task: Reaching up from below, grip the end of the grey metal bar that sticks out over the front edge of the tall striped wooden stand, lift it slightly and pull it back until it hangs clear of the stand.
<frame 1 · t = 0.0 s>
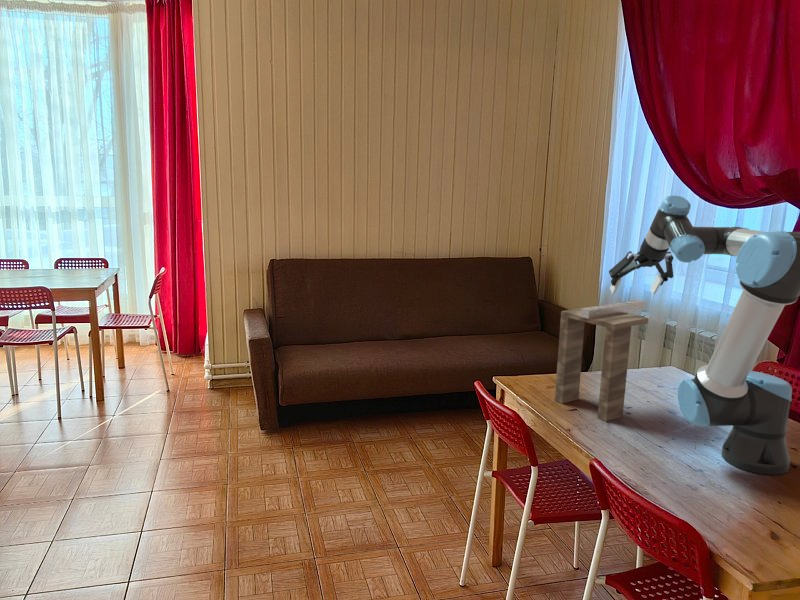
hand: (632, 291, 194), 36 cm above the table, tool tilted 35°, fingers open, 13 cm apart
striped wooden stand: (595, 406, 192), on the table
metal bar: (614, 312, 188), point 30 cm above the table, touching striped wooden stand
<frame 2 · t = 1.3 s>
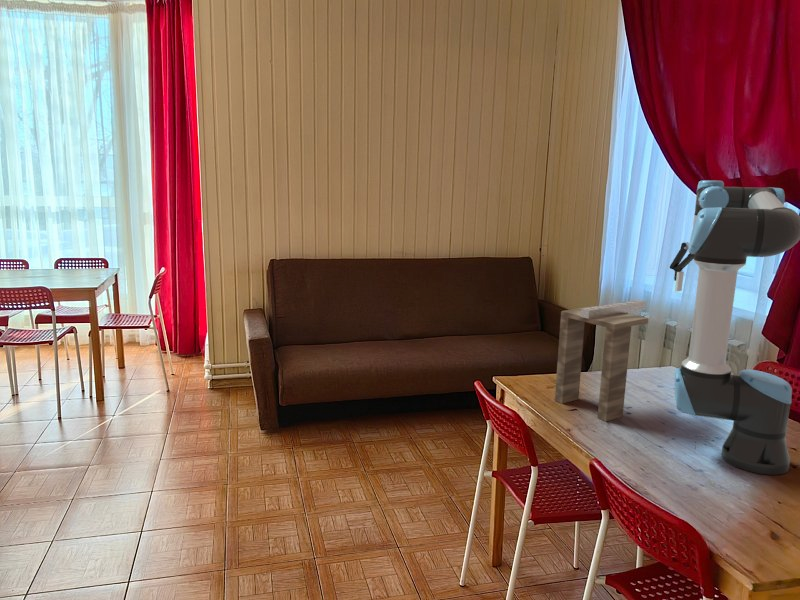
hand: (697, 294, 197), 35 cm above the table, tool pointing down, fingers open, 13 cm apart
nothing on the table moved.
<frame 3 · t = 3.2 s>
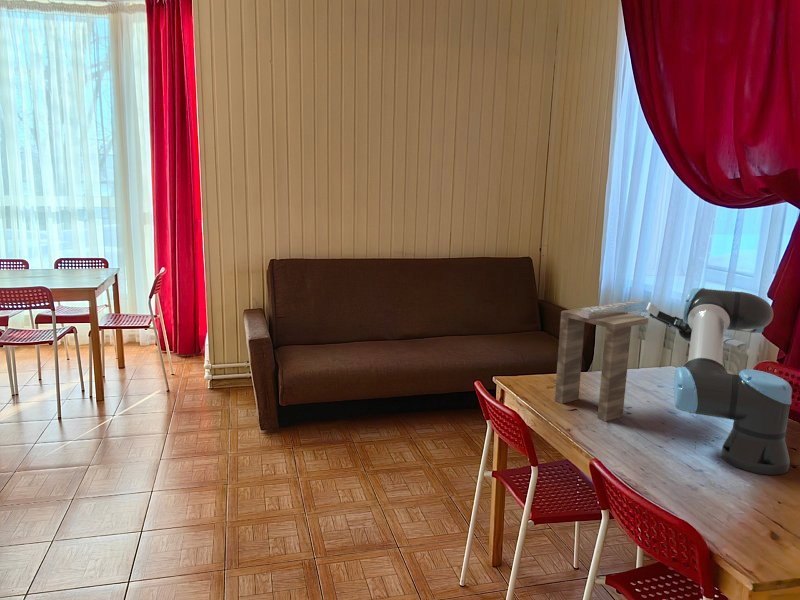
hand: (666, 309, 204), 28 cm above the table, tool pointing upward, fingers open, 13 cm apart
nothing on the table moved.
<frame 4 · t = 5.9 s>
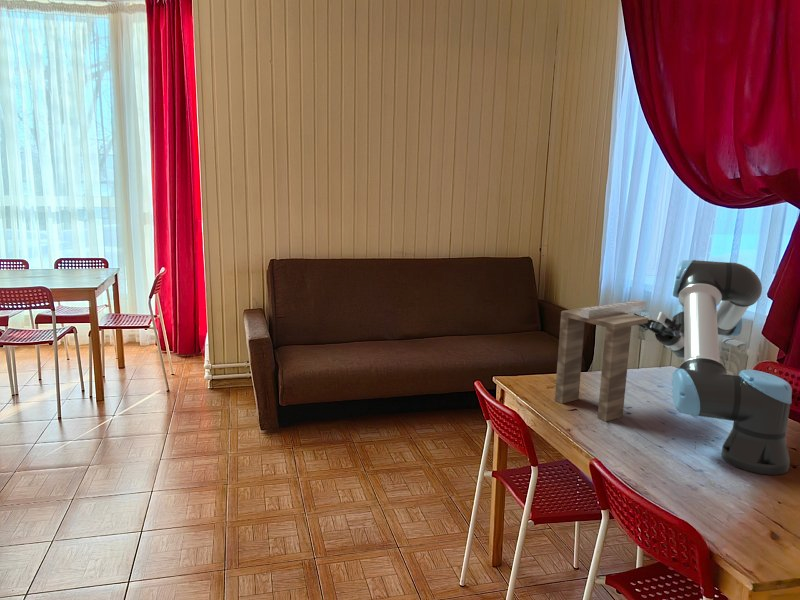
hand: (640, 311, 197), 29 cm above the table, tool pointing upward, fingers open, 13 cm apart
nothing on the table moved.
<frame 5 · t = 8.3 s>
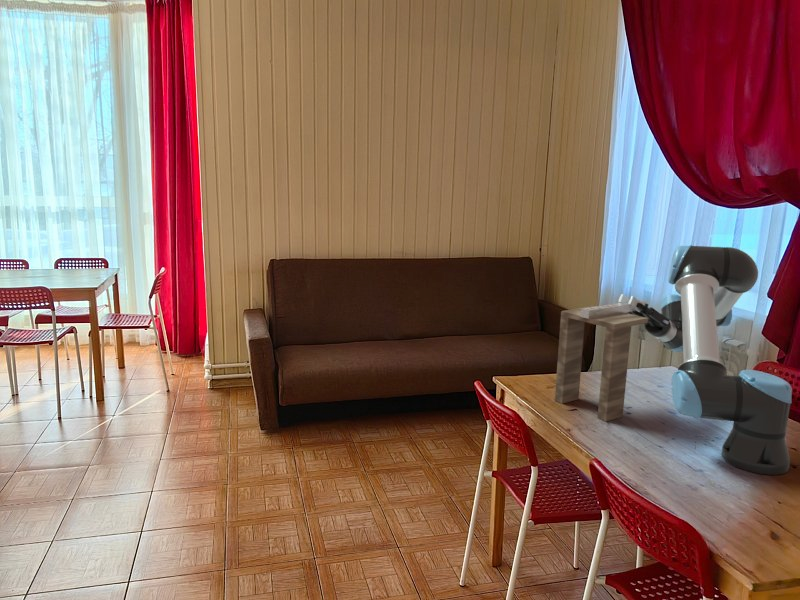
hand: (625, 299, 190), 34 cm above the table, tool pointing upward, fingers closed on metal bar, 3 cm apart
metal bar: (614, 312, 188), point 30 cm above the table, touching gripper, striped wooden stand
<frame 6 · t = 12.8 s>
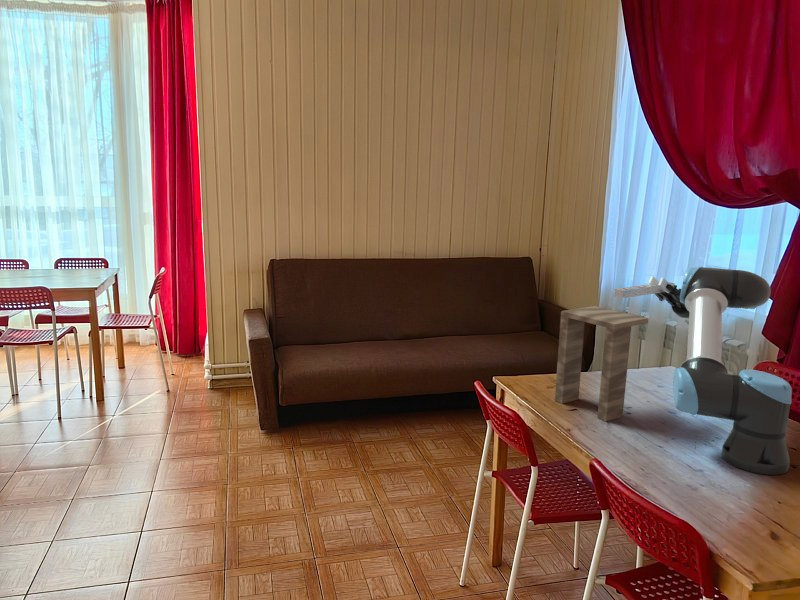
hand: (655, 280, 199), 39 cm above the table, tool pointing upward, fingers closed on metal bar, 3 cm apart
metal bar: (644, 293, 197), point 35 cm above the table, touching gripper
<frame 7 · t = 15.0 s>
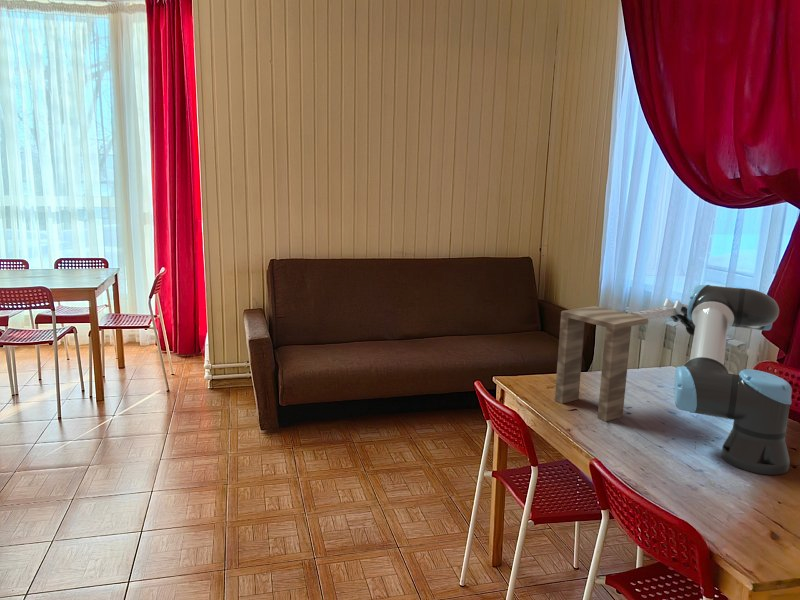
hand: (670, 303, 201), 31 cm above the table, tool pointing upward, fingers closed on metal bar, 3 cm apart
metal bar: (660, 316, 199), point 27 cm above the table, touching gripper
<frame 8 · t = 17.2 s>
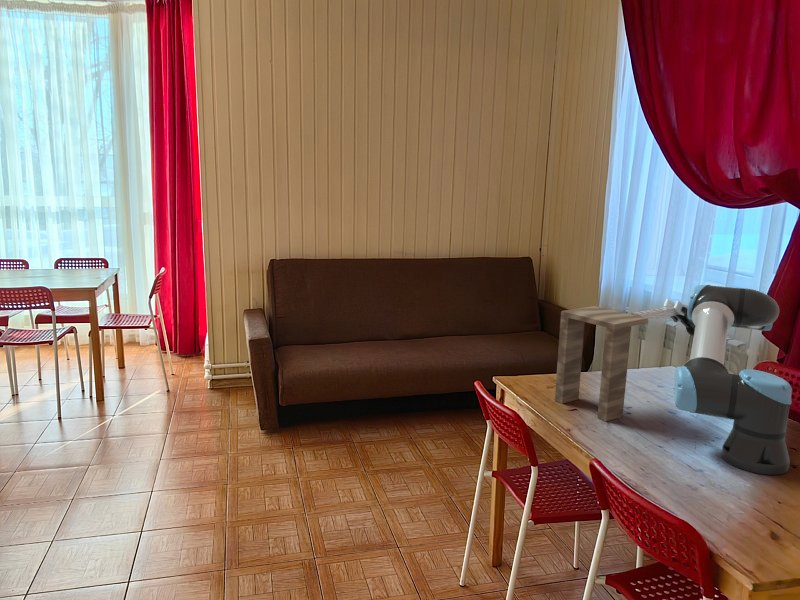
hand: (671, 303, 201), 31 cm above the table, tool pointing upward, fingers closed on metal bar, 3 cm apart
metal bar: (660, 316, 199), point 27 cm above the table, touching gripper
at the end: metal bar moved 22.3 cm from its start; the gripper is holding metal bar; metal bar inside the target area (2.2 cm from its centre), point 26.7 cm above the table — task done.
